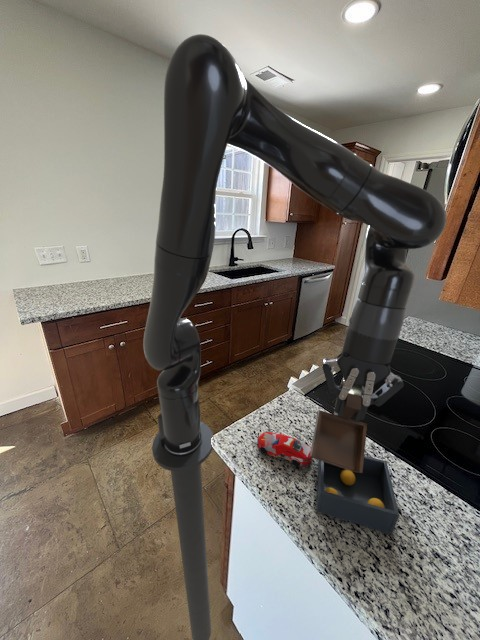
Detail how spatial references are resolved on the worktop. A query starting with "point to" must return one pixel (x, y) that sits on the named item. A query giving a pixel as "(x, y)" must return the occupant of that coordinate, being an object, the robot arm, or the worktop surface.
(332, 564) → the worktop surface
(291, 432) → the worktop surface
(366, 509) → the bin
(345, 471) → the ball
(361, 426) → the scoop
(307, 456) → the race car
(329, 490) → the ball
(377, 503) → the ball
